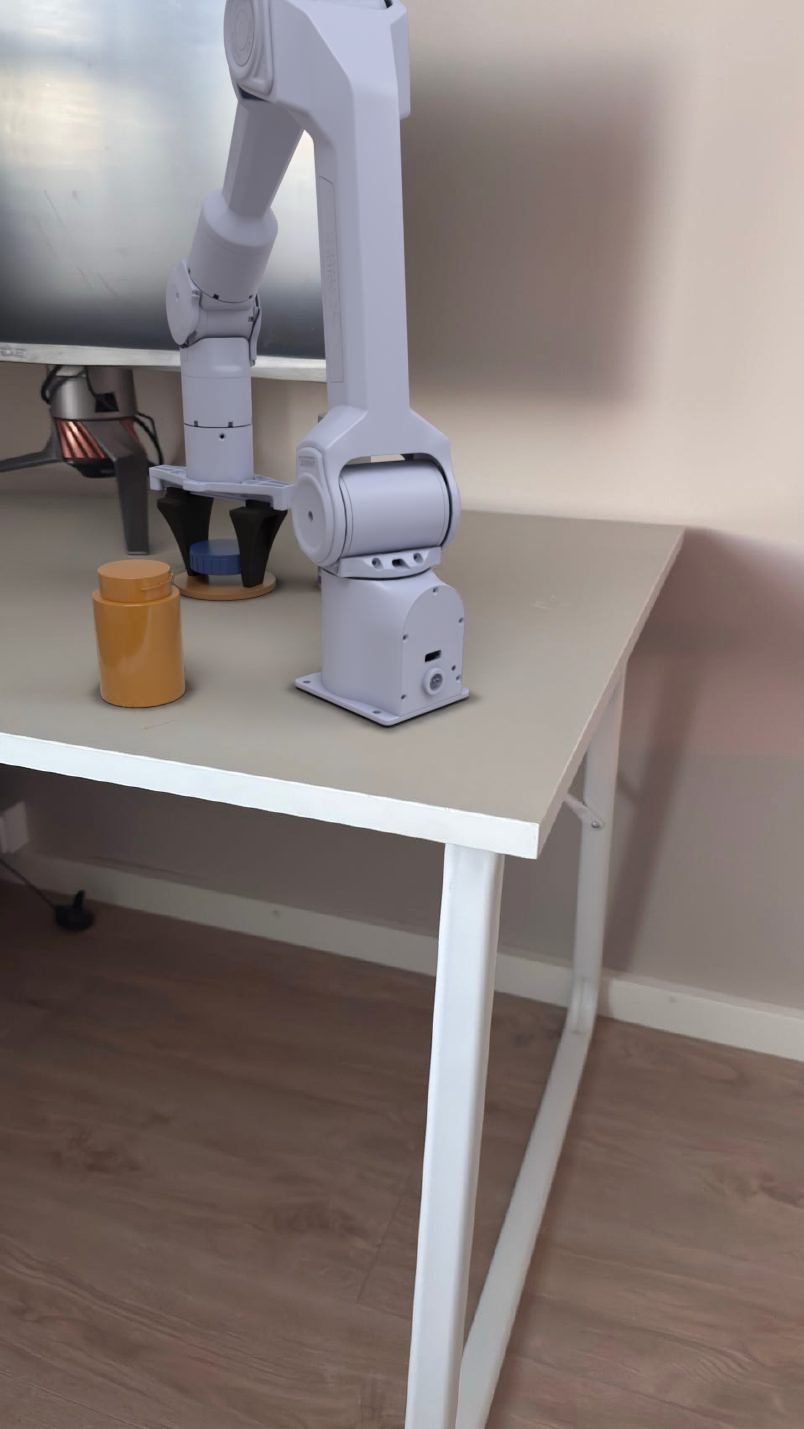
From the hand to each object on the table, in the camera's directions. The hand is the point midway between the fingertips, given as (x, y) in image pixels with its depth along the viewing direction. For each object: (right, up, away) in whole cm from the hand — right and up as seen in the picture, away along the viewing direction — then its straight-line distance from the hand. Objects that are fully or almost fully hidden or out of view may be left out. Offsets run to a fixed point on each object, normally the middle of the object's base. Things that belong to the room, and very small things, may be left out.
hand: (224, 579), depth 96 cm
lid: (0, +2, -1) cm, 3 cm away
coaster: (0, -1, 0) cm, 1 cm away
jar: (-2, -11, -23) cm, 26 cm away
